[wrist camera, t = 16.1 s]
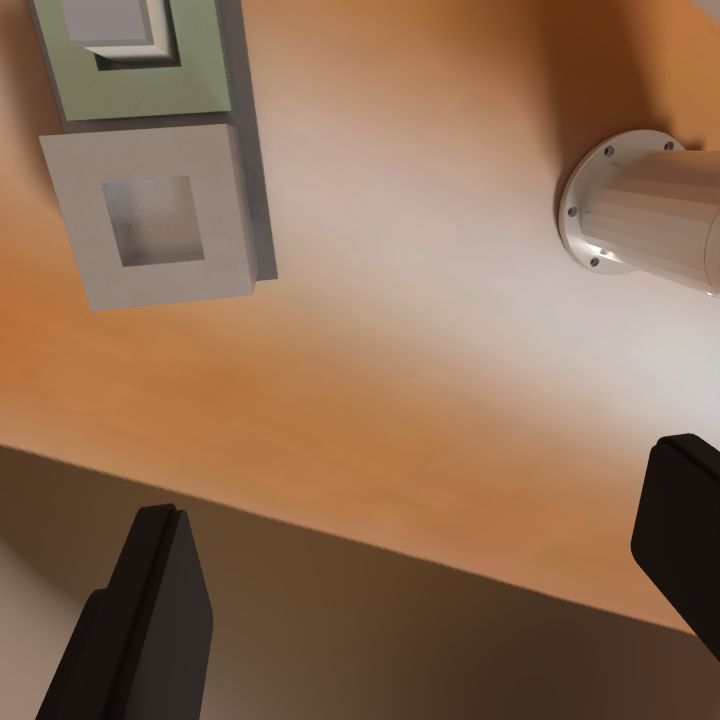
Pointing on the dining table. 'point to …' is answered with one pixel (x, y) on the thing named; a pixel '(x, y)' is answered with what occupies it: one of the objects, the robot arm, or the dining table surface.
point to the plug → (122, 29)
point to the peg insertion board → (160, 162)
